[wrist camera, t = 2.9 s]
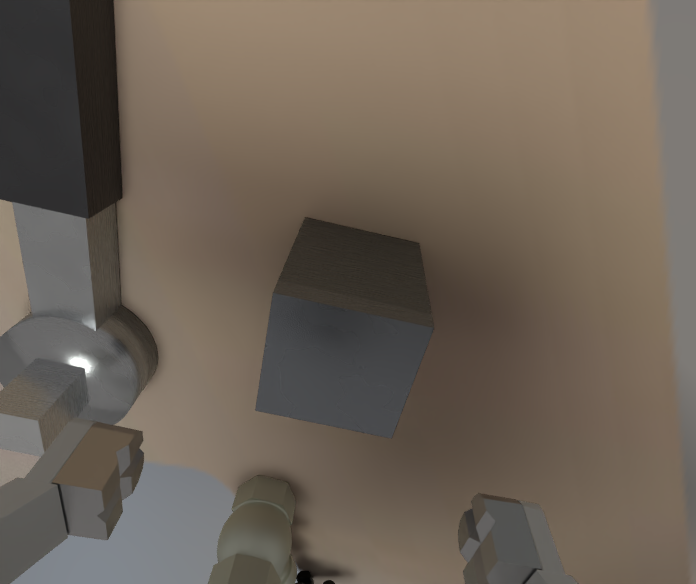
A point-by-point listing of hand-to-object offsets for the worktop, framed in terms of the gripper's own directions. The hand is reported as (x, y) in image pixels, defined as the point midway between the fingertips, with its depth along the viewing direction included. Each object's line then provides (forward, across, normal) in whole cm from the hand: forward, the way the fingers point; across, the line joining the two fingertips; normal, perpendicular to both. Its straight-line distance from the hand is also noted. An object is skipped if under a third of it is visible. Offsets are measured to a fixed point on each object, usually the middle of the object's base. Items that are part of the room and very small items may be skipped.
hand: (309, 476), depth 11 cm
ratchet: (+11, -11, -1) cm, 16 cm away
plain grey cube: (+11, 0, 0) cm, 11 cm away
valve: (+11, 0, -21) cm, 23 cm away
